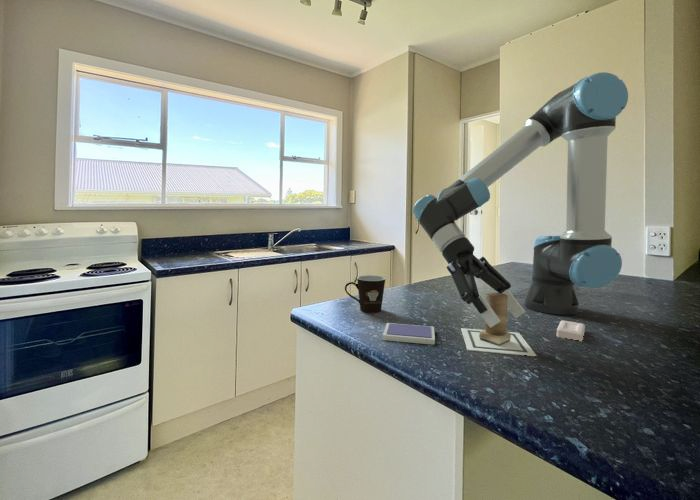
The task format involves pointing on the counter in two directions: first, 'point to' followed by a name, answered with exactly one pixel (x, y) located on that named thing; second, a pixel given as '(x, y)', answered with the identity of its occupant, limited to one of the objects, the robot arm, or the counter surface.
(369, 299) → the coffee mug
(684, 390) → the counter surface
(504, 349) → the sheet
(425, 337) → the ink pad
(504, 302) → the stamp
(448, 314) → the counter surface
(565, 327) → the soap bar
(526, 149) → the robot arm
